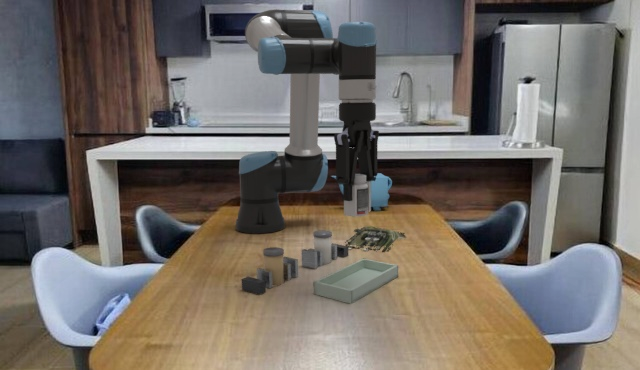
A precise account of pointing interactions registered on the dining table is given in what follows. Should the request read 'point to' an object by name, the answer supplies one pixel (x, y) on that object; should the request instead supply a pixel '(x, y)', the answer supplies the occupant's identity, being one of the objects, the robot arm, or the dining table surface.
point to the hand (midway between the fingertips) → (357, 213)
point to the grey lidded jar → (323, 244)
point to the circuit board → (374, 238)
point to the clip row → (290, 268)
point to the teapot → (377, 191)
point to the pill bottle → (361, 194)
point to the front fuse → (274, 264)
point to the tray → (355, 280)
